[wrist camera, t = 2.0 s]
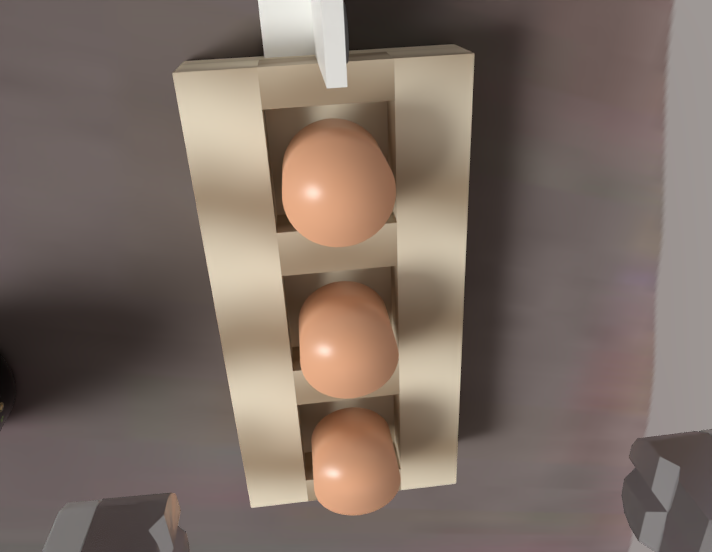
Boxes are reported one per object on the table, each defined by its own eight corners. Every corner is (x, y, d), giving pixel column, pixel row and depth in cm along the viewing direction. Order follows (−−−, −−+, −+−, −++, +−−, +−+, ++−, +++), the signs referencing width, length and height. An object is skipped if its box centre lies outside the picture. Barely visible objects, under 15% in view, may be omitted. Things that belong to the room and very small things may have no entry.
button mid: (294, 285, 26) (295, 322, 23) (386, 277, 26) (398, 312, 23) (302, 361, 28) (304, 403, 25) (388, 352, 28) (399, 393, 25)
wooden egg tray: (184, 61, 24) (172, 73, 21) (454, 43, 25) (474, 53, 22) (253, 465, 34) (251, 507, 32) (442, 444, 35) (455, 483, 32)
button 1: (308, 412, 29) (310, 456, 26) (389, 403, 29) (400, 446, 27) (314, 472, 31) (317, 519, 28) (391, 463, 31) (401, 509, 28)
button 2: (277, 122, 22) (276, 142, 20) (382, 114, 23) (395, 134, 20) (287, 220, 24) (287, 251, 22) (384, 212, 25) (397, 242, 22)
